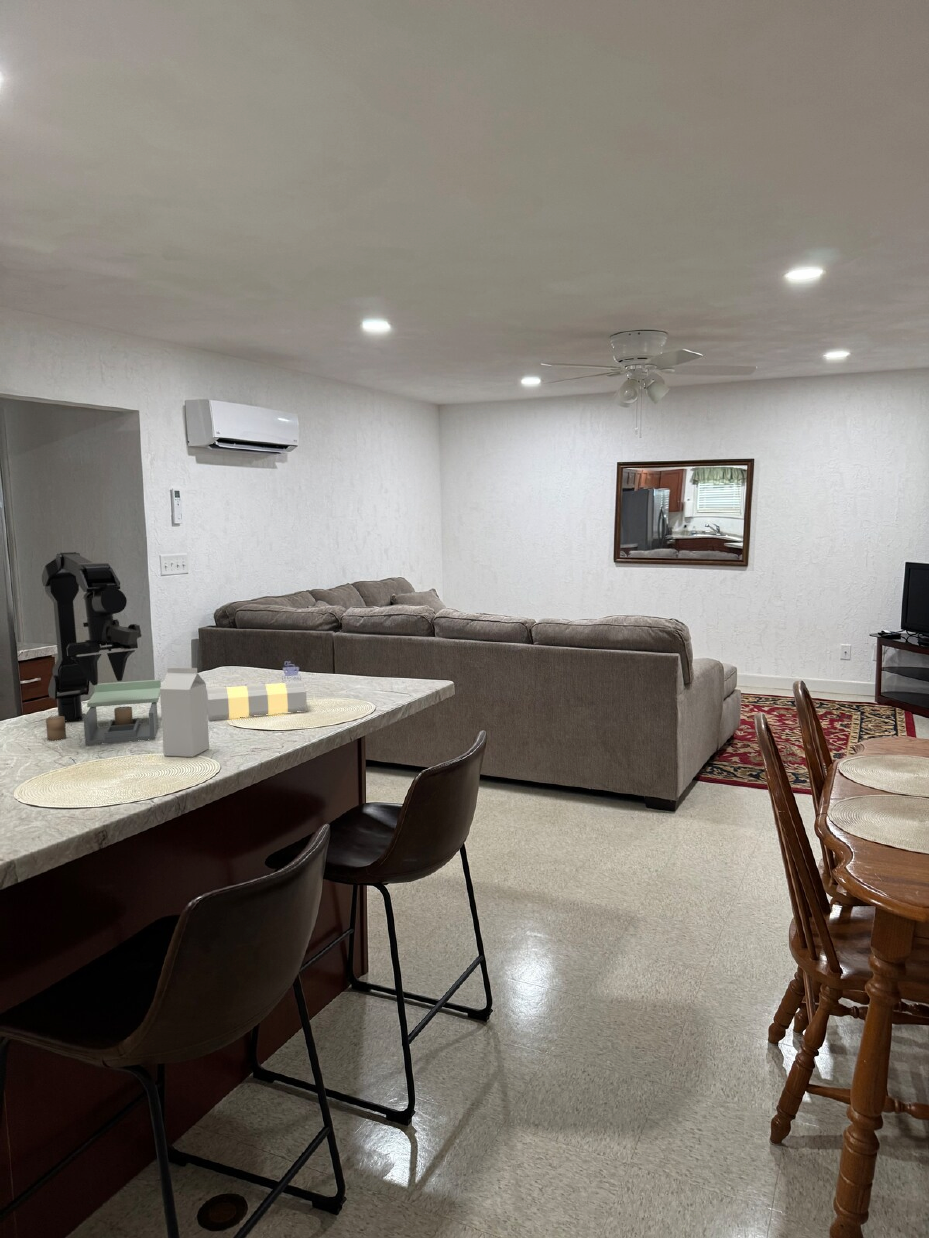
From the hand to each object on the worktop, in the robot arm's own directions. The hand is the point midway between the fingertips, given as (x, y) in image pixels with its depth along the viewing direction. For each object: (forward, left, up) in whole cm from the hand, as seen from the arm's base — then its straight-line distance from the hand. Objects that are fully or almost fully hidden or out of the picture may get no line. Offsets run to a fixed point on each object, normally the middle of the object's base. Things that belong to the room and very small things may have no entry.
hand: (107, 682), depth 197 cm
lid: (-14, +2, -7) cm, 16 cm away
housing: (-3, +2, -14) cm, 14 cm away
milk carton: (+19, +17, -14) cm, 29 cm away
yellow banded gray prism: (-17, +34, -14) cm, 41 cm away
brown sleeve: (-5, -13, -14) cm, 19 cm away
